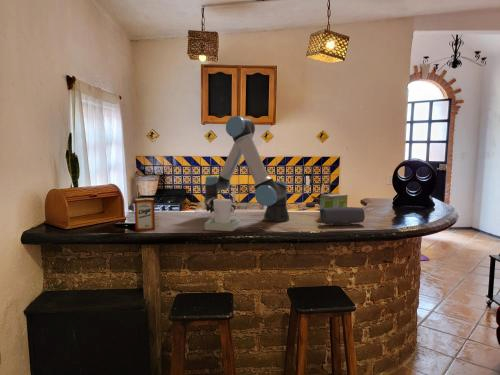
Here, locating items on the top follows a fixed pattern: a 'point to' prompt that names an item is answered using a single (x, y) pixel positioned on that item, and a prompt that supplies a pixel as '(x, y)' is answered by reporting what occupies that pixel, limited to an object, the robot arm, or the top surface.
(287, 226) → the top surface
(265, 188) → the robot arm
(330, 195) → the tea box
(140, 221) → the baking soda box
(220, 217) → the candle holder
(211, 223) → the tray
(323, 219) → the bluetooth speaker
